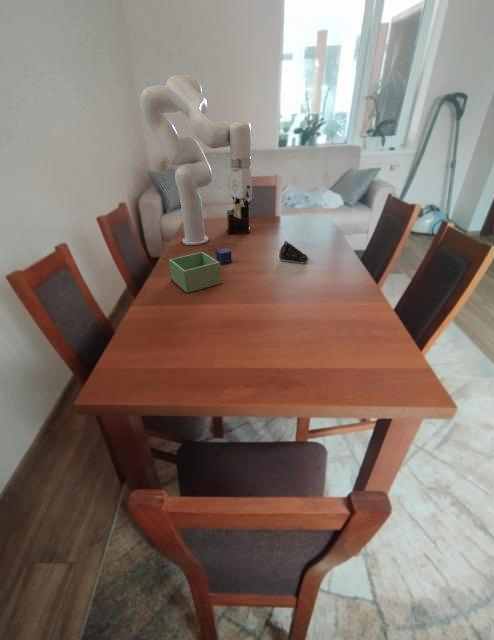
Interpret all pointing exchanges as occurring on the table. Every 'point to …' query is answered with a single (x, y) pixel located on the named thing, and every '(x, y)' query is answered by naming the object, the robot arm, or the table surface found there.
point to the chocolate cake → (292, 254)
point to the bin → (195, 271)
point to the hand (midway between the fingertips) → (241, 215)
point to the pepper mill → (237, 224)
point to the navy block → (223, 256)
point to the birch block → (237, 210)
